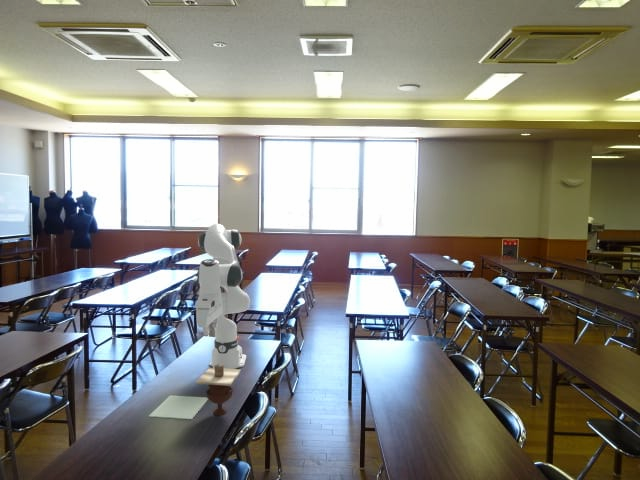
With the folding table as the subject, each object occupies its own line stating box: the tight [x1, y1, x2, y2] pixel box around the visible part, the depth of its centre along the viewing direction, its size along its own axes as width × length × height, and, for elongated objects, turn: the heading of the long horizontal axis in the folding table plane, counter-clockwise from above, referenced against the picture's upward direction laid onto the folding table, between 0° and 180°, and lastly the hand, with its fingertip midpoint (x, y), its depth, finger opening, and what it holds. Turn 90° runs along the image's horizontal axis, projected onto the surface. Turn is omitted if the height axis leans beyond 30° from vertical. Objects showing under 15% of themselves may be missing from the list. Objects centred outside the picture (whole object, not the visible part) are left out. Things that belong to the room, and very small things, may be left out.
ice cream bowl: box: [205, 384, 234, 416], centre depth 171 cm, size 11×11×15 cm
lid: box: [195, 364, 242, 386], centre depth 170 cm, size 14×14×5 cm
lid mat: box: [148, 394, 209, 420], centre depth 175 cm, size 18×18×1 cm
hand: (210, 330), depth 175 cm, fingers open, 8 cm apart
